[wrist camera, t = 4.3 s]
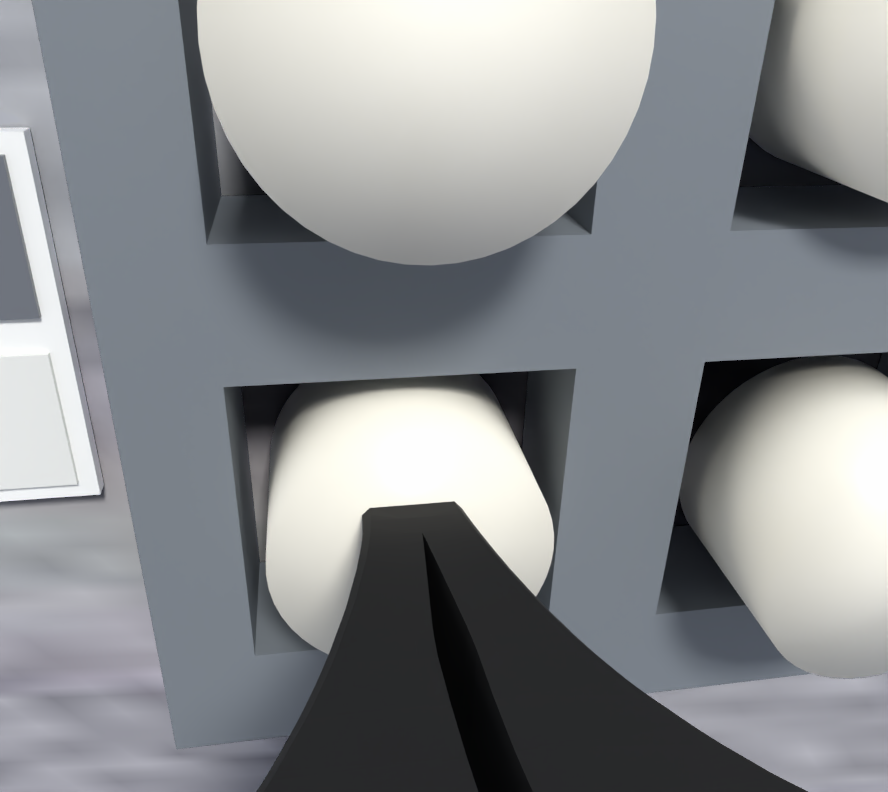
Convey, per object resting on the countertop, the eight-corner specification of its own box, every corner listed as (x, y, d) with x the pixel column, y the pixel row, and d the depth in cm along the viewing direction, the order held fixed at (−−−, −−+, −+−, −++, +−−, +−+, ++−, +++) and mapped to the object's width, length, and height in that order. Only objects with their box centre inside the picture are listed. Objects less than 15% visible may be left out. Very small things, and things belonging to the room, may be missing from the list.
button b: (579, -174, 9) (690, -226, 7) (548, 190, 11) (625, 259, 9) (203, -195, 9) (165, -262, 6) (240, 195, 11) (223, 271, 8)
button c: (934, 349, 14) (1084, 440, 11) (867, 546, 16) (982, 663, 13) (701, 361, 13) (803, 461, 10) (662, 565, 15) (740, 692, 12)
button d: (514, 338, 14) (567, 427, 11) (500, 537, 16) (542, 652, 13) (260, 350, 13) (252, 448, 10) (279, 556, 15) (276, 681, 12)
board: (1191, -338, 11) (1402, -408, 9) (871, 579, 19) (944, 657, 16) (8, -454, 9) (-83, -588, 7) (191, 647, 16) (176, 749, 14)
